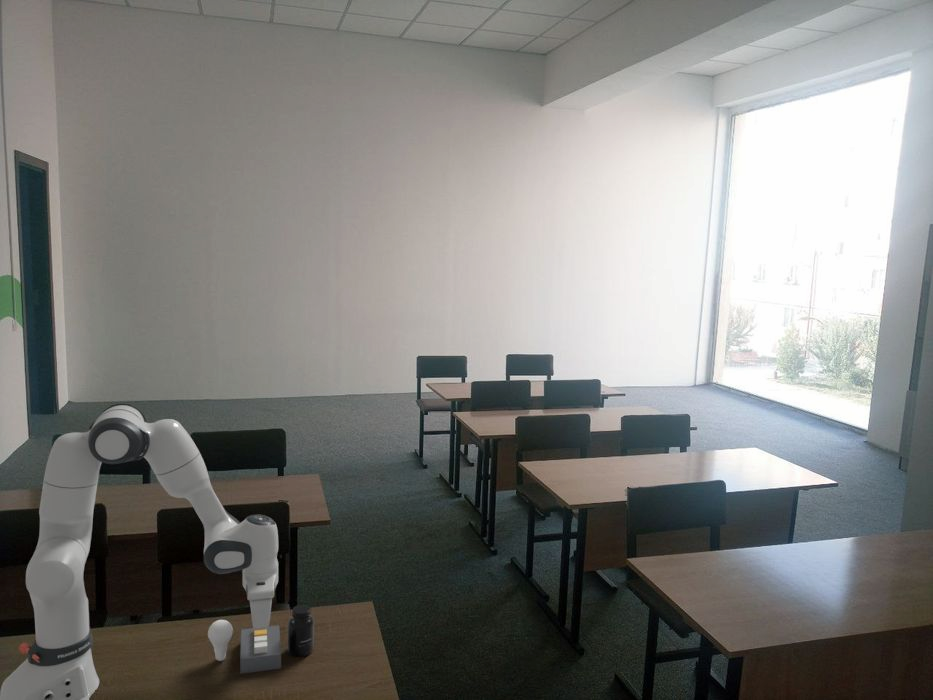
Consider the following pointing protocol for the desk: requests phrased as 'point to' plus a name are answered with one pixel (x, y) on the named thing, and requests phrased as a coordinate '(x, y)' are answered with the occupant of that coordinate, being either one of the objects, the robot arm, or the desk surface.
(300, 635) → the supplement bottle
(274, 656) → the breaker strip
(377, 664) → the desk surface
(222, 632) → the lightbulb
